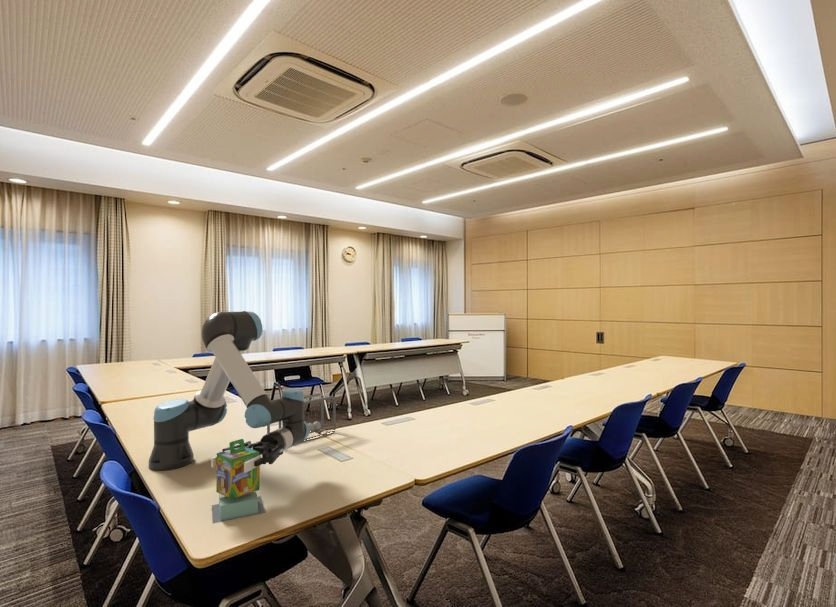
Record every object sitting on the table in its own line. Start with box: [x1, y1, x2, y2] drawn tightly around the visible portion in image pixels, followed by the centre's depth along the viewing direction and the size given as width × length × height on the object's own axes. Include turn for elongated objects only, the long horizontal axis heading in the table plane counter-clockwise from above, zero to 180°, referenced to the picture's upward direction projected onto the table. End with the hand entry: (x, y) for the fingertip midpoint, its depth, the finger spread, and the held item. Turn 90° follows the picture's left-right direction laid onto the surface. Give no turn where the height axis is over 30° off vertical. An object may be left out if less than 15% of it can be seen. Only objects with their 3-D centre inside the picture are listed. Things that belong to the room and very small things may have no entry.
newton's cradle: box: [266, 393, 337, 441], centre depth 199 cm, size 30×10×18 cm, turn 139°
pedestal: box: [218, 491, 259, 520], centre depth 129 cm, size 10×10×4 cm
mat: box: [211, 495, 266, 524], centre depth 129 cm, size 14×12×1 cm
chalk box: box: [215, 438, 261, 500], centre depth 129 cm, size 9×9×15 cm
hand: (228, 465), depth 125 cm, fingers closed on chalk box, 11 cm apart
